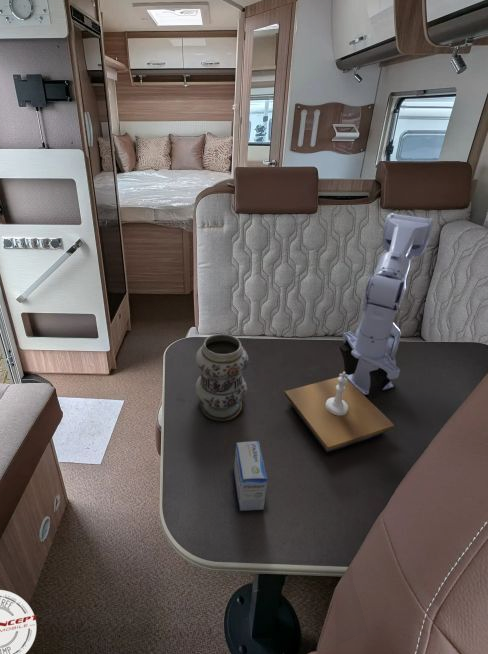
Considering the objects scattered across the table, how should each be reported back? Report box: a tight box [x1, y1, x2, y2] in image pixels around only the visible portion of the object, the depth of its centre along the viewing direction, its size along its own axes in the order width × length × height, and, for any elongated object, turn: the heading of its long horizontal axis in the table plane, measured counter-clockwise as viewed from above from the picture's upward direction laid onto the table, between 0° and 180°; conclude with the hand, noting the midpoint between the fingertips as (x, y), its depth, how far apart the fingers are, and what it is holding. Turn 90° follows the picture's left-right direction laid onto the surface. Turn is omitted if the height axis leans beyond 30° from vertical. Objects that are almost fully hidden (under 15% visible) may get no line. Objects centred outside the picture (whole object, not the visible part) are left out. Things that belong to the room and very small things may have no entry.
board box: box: [283, 376, 396, 454], centre depth 83 cm, size 17×17×4 cm
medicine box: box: [233, 440, 268, 512], centre depth 66 cm, size 8×4×9 cm, turn 5°
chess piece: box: [325, 371, 348, 415], centre depth 80 cm, size 5×5×10 cm
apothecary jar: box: [195, 333, 249, 422], centre depth 84 cm, size 12×12×18 cm
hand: (361, 384), depth 79 cm, fingers open, 7 cm apart
